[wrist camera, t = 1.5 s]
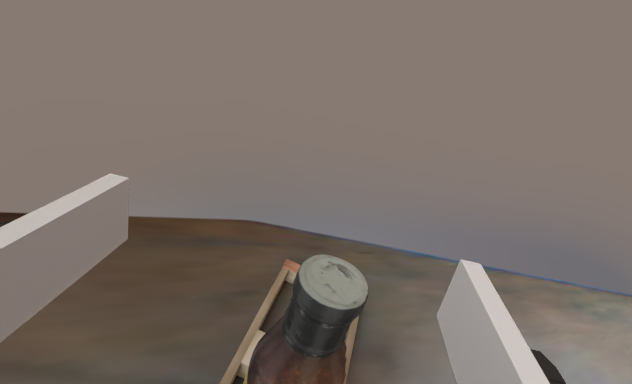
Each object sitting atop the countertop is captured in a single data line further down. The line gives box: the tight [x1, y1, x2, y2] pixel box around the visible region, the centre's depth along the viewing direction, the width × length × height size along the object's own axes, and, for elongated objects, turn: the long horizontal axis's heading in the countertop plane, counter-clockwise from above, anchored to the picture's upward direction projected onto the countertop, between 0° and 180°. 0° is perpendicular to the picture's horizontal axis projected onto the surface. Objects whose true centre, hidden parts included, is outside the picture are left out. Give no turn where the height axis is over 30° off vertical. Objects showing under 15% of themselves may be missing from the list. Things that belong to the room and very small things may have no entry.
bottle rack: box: [220, 259, 359, 384], centre depth 35 cm, size 11×26×3 cm, turn 165°
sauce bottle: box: [243, 255, 368, 384], centre depth 25 cm, size 6×6×20 cm
